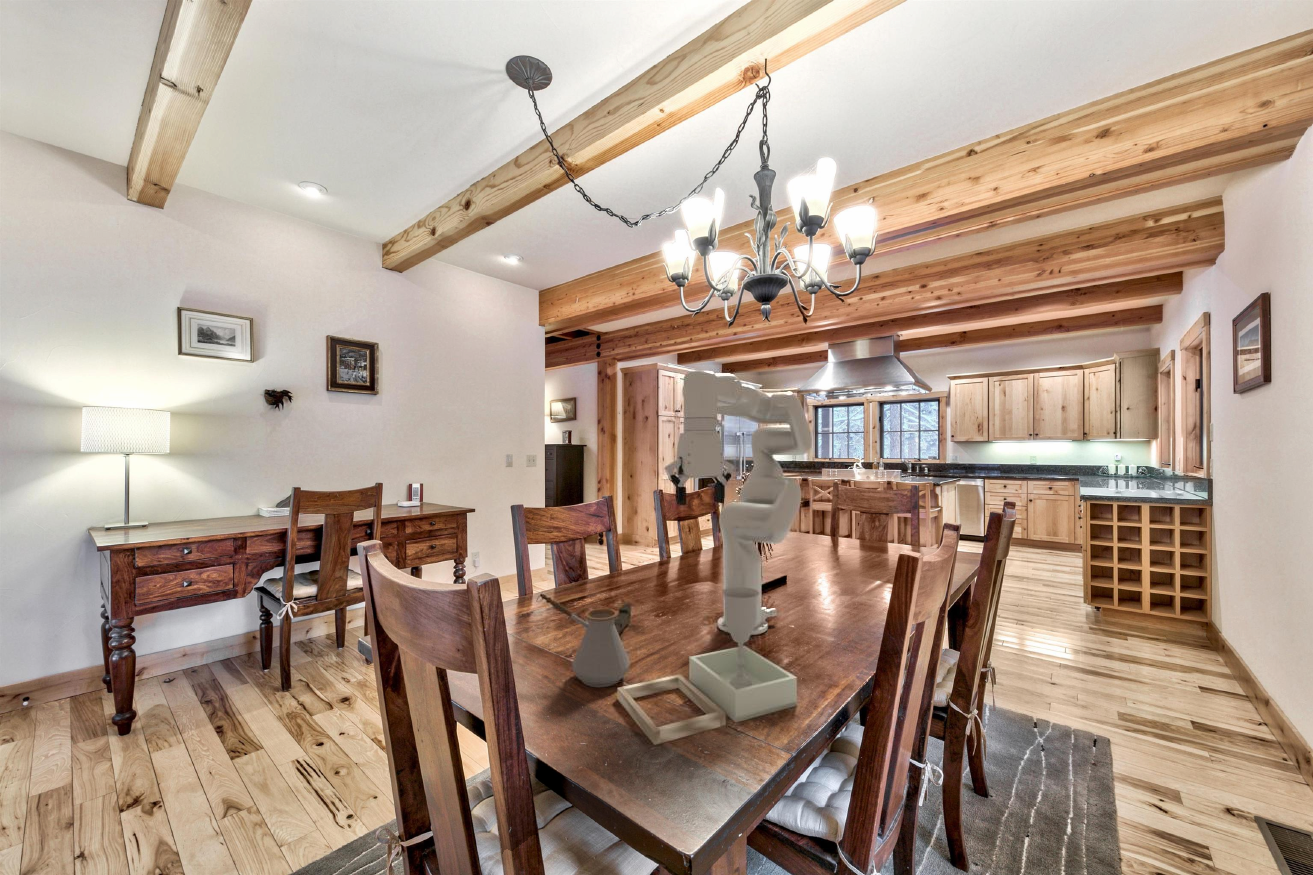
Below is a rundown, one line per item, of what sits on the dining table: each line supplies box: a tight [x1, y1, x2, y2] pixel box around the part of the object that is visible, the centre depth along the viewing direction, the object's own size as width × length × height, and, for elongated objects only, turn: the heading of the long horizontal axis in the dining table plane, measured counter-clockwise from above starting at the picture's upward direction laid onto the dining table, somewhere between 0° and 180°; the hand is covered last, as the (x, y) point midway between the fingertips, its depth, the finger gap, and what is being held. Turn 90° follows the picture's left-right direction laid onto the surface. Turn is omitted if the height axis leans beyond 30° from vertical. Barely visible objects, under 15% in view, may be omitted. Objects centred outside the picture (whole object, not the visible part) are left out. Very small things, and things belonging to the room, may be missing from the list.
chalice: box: [721, 587, 759, 689], centre depth 96 cm, size 7×7×18 cm
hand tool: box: [614, 603, 632, 635], centre depth 129 cm, size 19×4×5 cm, turn 165°
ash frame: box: [616, 673, 726, 746], centre depth 90 cm, size 13×16×2 cm
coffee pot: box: [536, 593, 631, 688], centre depth 105 cm, size 21×12×15 cm, turn 64°
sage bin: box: [688, 645, 798, 723], centre depth 96 cm, size 13×16×5 cm
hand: (700, 503), depth 115 cm, fingers open, 9 cm apart
